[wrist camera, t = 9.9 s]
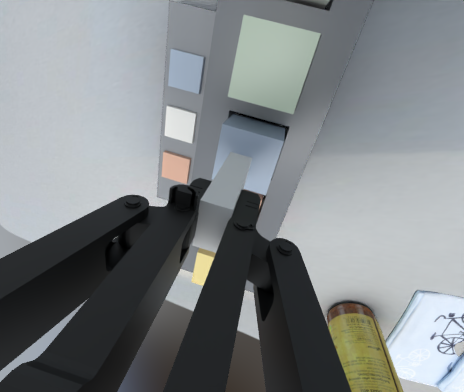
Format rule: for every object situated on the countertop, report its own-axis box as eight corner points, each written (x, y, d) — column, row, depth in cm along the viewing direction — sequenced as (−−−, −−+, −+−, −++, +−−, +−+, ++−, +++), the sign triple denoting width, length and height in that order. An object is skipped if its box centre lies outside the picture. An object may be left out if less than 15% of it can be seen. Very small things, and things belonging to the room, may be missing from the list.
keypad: (415, -127, 14) (442, -168, 12) (256, 274, 33) (253, 292, 30) (194, -170, 15) (174, -215, 13) (160, 243, 34) (149, 258, 31)
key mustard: (247, 240, 27) (241, 266, 24) (238, 268, 30) (231, 295, 26) (208, 228, 28) (197, 252, 24) (202, 256, 30) (191, 282, 27)
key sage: (315, 38, 17) (321, 33, 14) (292, 105, 20) (293, 114, 16) (252, 23, 18) (243, 14, 14) (238, 90, 20) (227, 96, 17)
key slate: (285, 128, 21) (284, 141, 17) (269, 175, 23) (265, 195, 20) (233, 113, 21) (222, 124, 18) (223, 161, 23) (211, 179, 20)
